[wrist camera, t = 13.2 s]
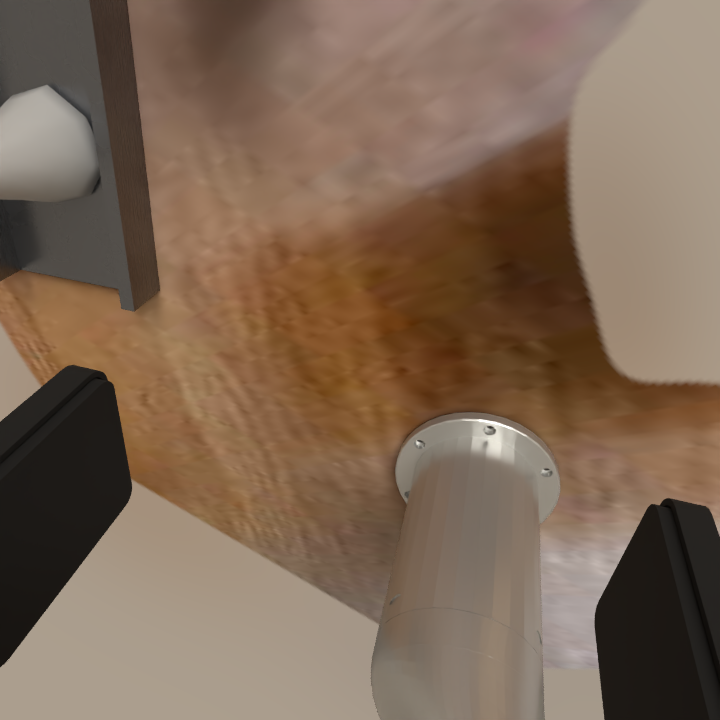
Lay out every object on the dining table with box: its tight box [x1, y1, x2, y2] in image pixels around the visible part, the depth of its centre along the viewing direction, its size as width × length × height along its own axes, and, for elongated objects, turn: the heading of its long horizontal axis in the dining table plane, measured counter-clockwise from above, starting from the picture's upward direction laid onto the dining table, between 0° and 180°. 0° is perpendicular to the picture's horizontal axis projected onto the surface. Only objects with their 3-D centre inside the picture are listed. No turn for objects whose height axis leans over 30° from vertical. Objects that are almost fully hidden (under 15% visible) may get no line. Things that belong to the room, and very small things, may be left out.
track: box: [0, 0, 160, 311], centre depth 38 cm, size 20×12×4 cm, turn 175°
